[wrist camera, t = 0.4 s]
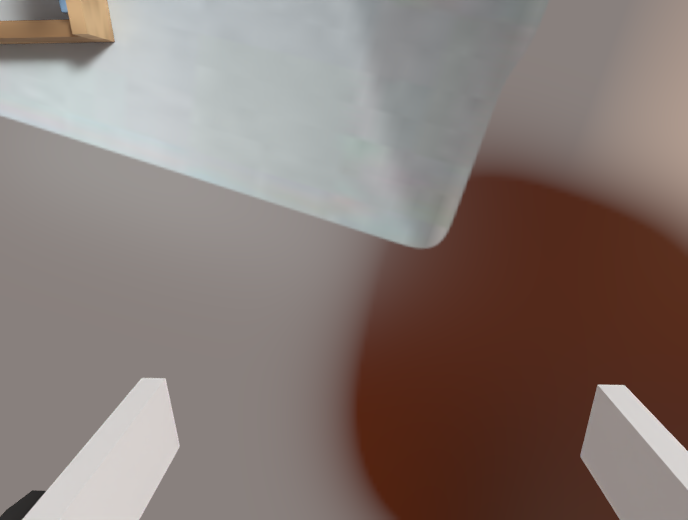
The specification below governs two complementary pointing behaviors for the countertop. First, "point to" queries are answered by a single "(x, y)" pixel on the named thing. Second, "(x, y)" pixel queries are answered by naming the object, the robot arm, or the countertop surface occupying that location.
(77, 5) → the rack
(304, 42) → the countertop surface
